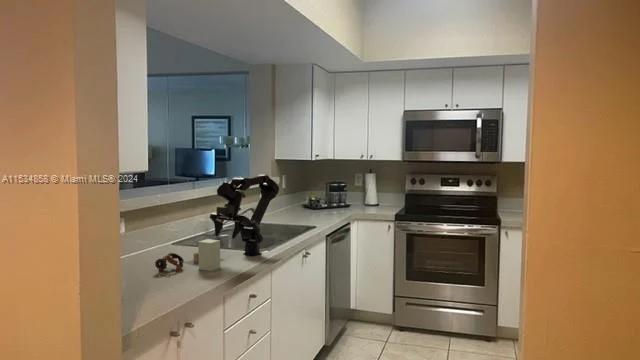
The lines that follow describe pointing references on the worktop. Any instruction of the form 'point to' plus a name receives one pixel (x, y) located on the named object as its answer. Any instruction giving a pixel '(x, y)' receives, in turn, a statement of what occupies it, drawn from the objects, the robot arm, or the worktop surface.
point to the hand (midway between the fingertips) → (224, 237)
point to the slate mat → (196, 263)
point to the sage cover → (209, 254)
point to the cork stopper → (196, 257)
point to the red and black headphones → (170, 260)
